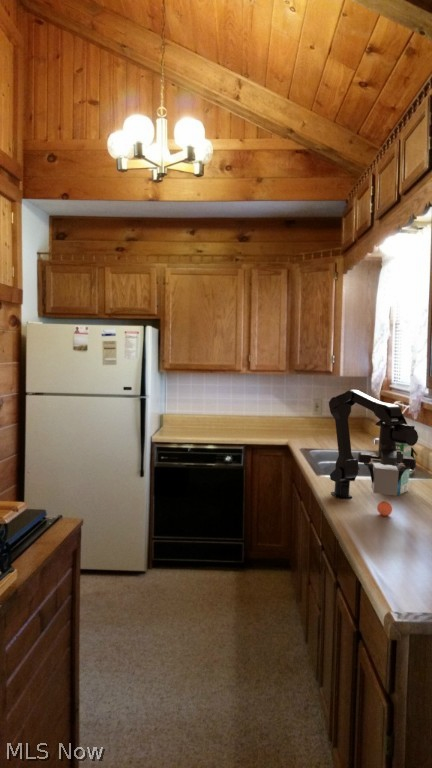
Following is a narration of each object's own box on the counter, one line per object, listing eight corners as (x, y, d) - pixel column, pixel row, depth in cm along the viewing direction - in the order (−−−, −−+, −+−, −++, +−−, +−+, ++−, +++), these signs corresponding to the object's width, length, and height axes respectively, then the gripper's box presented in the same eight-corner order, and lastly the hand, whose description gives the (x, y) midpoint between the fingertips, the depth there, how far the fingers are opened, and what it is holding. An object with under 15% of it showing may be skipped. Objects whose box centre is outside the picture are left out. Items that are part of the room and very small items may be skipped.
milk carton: (378, 489, 193) (382, 431, 191) (386, 485, 200) (391, 429, 198) (399, 495, 187) (404, 434, 185) (408, 490, 194) (412, 432, 192)
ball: (376, 508, 160) (374, 515, 163) (391, 514, 158) (389, 520, 161) (380, 496, 162) (378, 503, 166) (395, 501, 160) (392, 508, 164)
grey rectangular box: (371, 486, 168) (373, 463, 167) (393, 489, 166) (395, 465, 166) (373, 493, 161) (375, 468, 160) (396, 495, 159) (398, 470, 158)
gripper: (362, 441, 156) (358, 486, 157) (420, 447, 152) (417, 493, 153) (359, 436, 167) (356, 478, 168) (414, 440, 163) (410, 484, 164)
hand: (384, 483), depth 163 cm, fingers closed on grey rectangular box, 8 cm apart
